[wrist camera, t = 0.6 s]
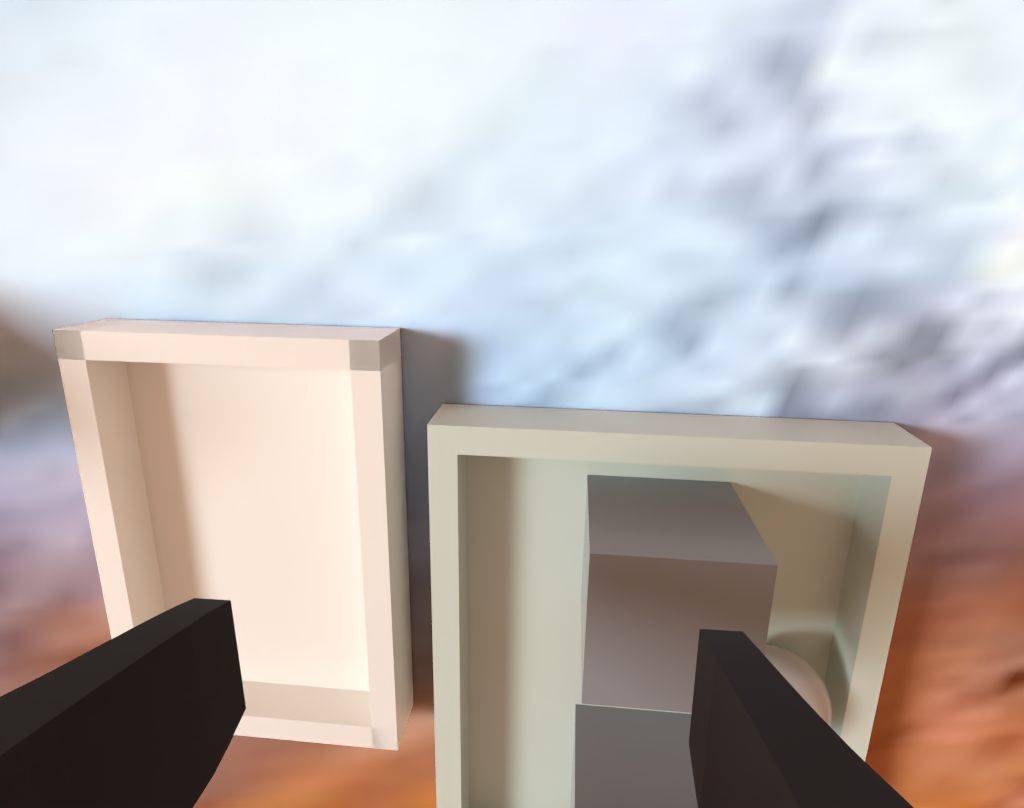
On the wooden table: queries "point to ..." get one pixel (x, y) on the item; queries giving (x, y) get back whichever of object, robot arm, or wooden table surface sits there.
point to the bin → (559, 560)
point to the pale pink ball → (802, 679)
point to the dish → (256, 505)
